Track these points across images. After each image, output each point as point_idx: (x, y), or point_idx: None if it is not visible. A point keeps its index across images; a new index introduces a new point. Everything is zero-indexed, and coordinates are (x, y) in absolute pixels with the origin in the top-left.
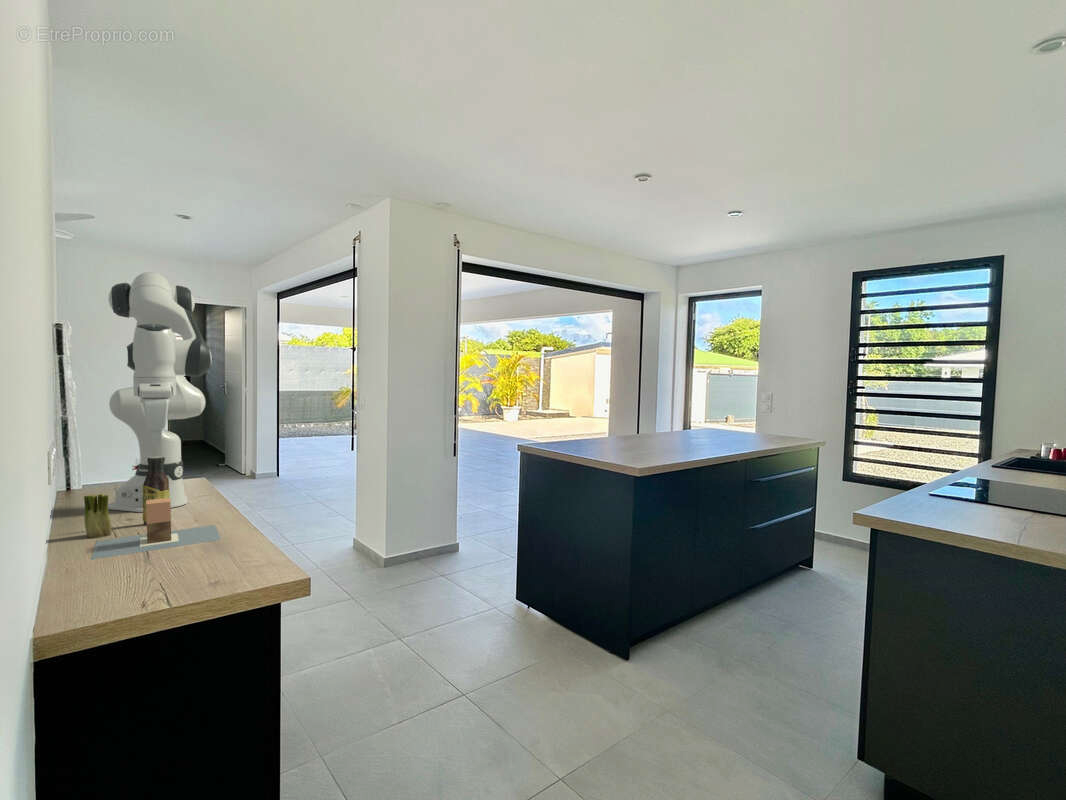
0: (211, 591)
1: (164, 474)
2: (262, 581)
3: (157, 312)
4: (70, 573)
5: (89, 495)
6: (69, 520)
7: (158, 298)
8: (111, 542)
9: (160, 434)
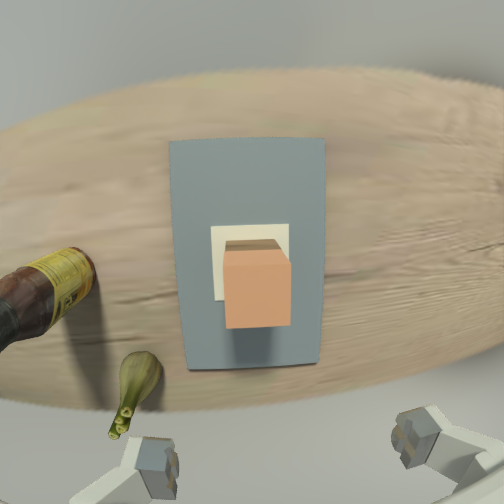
0: None
1: (9, 293)
2: None
3: None
4: (351, 372)
5: (113, 433)
6: (11, 391)
7: None
8: (214, 346)
9: (484, 440)
